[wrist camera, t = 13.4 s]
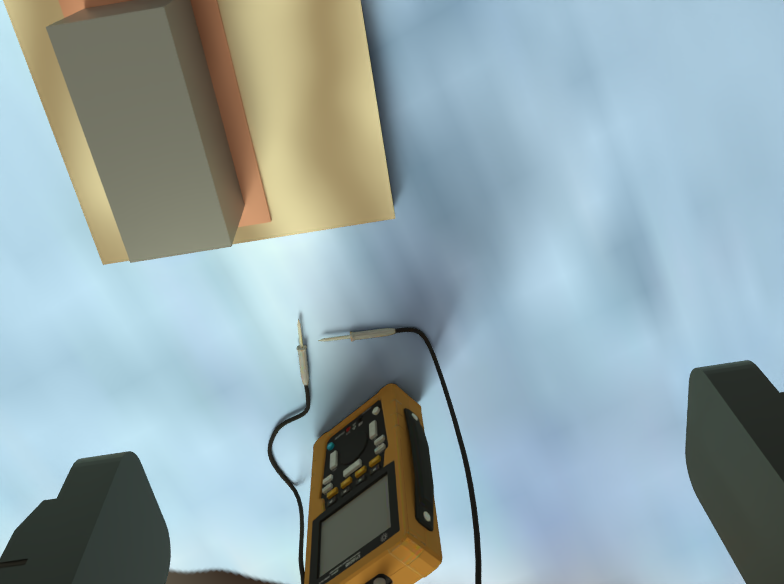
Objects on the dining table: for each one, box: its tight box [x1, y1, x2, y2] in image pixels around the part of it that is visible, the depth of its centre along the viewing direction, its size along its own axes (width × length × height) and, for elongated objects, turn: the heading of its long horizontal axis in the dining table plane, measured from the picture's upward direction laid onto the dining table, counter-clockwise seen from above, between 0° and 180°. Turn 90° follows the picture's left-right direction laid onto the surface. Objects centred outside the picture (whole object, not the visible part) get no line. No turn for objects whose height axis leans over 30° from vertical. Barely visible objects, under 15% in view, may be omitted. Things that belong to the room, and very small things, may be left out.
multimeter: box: [268, 319, 481, 584], centre depth 38 cm, size 15×10×20 cm
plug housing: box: [46, 0, 245, 263], centre depth 34 cm, size 5×11×5 cm, turn 9°
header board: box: [3, 0, 395, 265], centre depth 36 cm, size 16×15×5 cm
